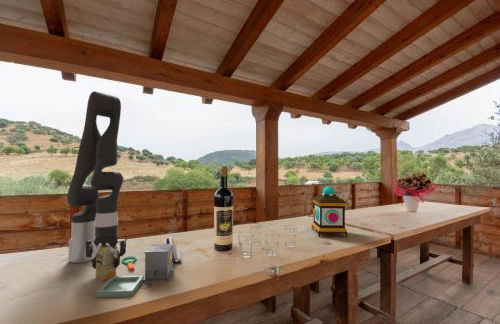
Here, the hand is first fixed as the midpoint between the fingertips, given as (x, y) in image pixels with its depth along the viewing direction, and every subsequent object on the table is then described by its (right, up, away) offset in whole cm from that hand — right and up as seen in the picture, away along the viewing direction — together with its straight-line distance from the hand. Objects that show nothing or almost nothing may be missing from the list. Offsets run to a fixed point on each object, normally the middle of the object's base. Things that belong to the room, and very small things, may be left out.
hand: (106, 267), depth 92 cm
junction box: (+20, -3, +1) cm, 20 cm away
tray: (+11, -3, -9) cm, 15 cm away
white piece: (+19, -4, +20) cm, 28 cm away
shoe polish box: (0, -4, 0) cm, 4 cm away
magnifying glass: (+3, -4, +11) cm, 13 cm away
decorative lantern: (+105, -5, +61) cm, 121 cm away
